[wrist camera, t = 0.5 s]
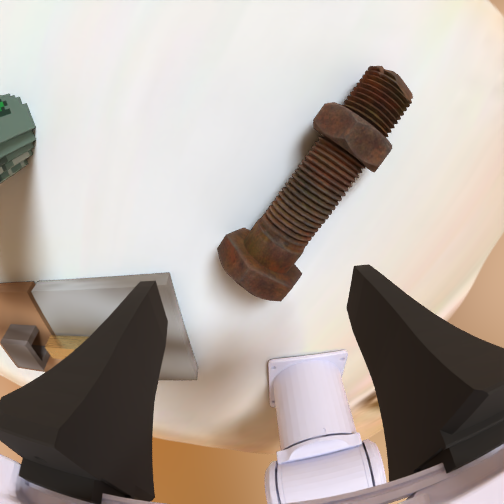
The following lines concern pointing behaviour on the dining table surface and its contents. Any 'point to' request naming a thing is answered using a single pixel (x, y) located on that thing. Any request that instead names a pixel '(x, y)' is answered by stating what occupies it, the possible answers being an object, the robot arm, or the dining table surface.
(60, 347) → the slide bolt
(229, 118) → the dining table surface
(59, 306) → the latch plate
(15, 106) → the can
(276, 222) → the bolt
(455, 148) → the dining table surface
